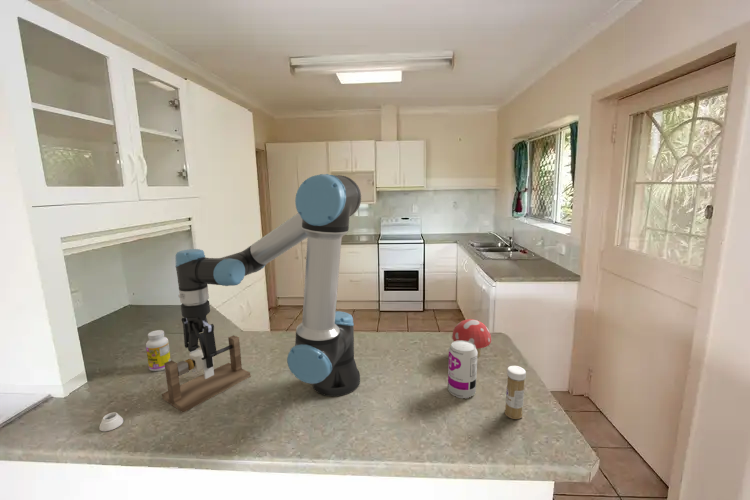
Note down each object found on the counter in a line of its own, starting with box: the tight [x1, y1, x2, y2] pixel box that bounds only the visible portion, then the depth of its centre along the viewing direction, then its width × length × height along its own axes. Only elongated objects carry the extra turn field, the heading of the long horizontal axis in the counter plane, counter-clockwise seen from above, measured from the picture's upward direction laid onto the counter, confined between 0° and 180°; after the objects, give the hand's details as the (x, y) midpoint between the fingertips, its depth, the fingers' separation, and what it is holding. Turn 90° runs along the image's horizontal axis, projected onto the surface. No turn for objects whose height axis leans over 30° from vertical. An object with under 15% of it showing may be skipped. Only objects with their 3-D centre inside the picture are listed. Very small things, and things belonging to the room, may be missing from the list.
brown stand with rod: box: [161, 335, 252, 414], centre depth 107 cm, size 12×22×13 cm, turn 146°
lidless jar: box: [98, 412, 124, 432], centre depth 91 cm, size 5×3×5 cm
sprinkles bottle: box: [504, 365, 527, 420], centre depth 92 cm, size 5×5×14 cm
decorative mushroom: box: [451, 318, 492, 360], centre depth 122 cm, size 13×13×15 cm
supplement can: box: [447, 340, 478, 399], centre depth 103 cm, size 8×8×15 cm
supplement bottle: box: [145, 329, 172, 372], centre depth 119 cm, size 7×7×13 cm
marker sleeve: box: [188, 348, 215, 372], centre depth 105 cm, size 4×5×4 cm
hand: (202, 373), depth 106 cm, fingers open, 6 cm apart
